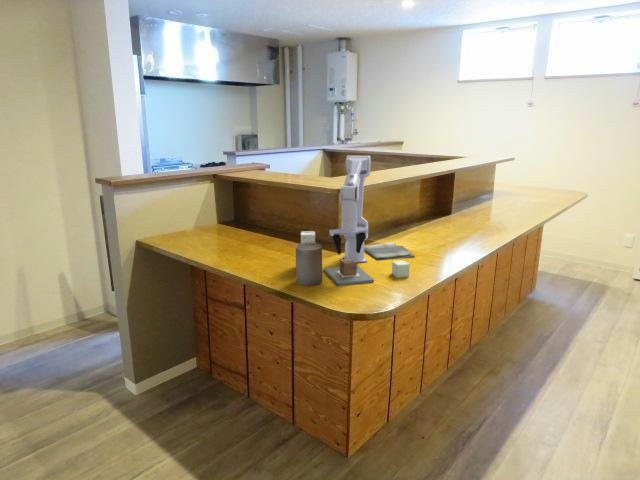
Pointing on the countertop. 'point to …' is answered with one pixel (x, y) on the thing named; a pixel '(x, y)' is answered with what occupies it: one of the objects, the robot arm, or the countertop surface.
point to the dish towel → (388, 251)
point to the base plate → (347, 280)
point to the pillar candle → (309, 264)
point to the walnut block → (348, 267)
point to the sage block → (400, 268)
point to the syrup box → (307, 237)
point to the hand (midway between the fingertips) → (348, 253)
